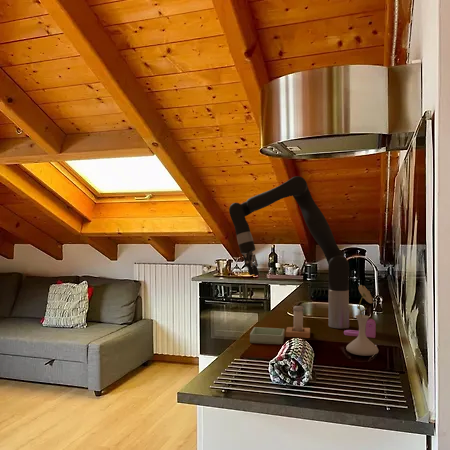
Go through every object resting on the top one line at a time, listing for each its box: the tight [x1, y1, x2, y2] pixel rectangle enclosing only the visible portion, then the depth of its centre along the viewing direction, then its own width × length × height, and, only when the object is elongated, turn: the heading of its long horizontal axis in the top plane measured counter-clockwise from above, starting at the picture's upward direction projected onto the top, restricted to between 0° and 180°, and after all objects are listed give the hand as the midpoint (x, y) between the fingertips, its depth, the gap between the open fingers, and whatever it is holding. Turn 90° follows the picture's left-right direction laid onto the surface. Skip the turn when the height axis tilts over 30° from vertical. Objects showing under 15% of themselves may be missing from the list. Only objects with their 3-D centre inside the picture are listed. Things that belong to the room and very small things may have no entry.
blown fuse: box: [292, 305, 304, 332], centre depth 196 cm, size 4×4×12 cm
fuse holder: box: [285, 326, 311, 339], centre depth 196 cm, size 10×10×2 cm
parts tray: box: [249, 326, 286, 345], centre depth 186 cm, size 13×13×4 cm
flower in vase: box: [345, 284, 379, 357], centre depth 167 cm, size 13×11×25 cm
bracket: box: [343, 318, 377, 339], centre depth 196 cm, size 13×6×7 cm, turn 69°
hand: (254, 275), depth 217 cm, fingers open, 8 cm apart
